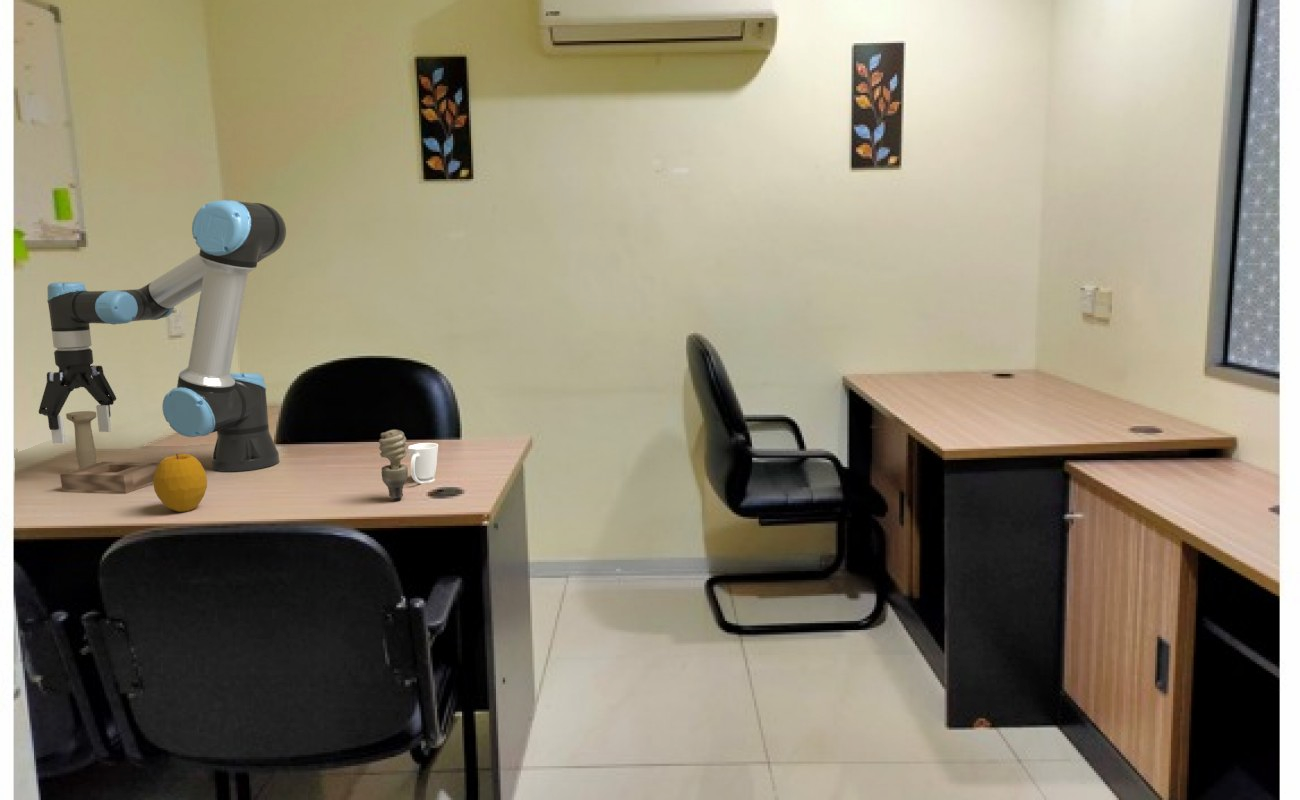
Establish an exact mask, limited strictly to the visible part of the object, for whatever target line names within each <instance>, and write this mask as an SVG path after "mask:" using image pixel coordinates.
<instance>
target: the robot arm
mask: <svg viewBox="0 0 1300 800" xmlns="http://www.w3.org/2000/svg"><path fill="white" fill-rule="evenodd" d="M191 224H192V225H191V233H192V234H191V235H192V237H193V239H195V244H196V246H197V247H198V248H199V252H198V253H196V254H195V255H193V256H192V257H190V258H188V259H187V260H185V261H183V262H182V263H180V264H178V265H177V266H175V267H174V268H172V269H170V270H169V271H167V272H166V273H164V274H162V275H160V276H159V277H157V278H156V279H154V280H153V281H151V282H149V283H147V284H146V285H144V286H142V287H141V288H137V289H135V288H134V289H121V290H120V289H119V290H94V291H93V290H92V291H89V290H87V289H86V285H85V283H84V282H80V281H79V282H77V281H73V282H71V281H70V282H68V281H67V282H51V283H49V284H48V285H47V300H46V301H47V304H48V312H49V320H50V327H51V335H52V343H53V344H52V345H53V348H54V349H55V350H54V352H53V355H54V356H53V357H54V363H55V366H57V367H58V371H54V372H53V371H49V372H47V373H46V384H45V387H44V391H43V394H42V398H41V401H40V404H39V408H38V414H39V415H43V416H45V417H47V421H48V428H49V430H50V431H51V439H52V440H51V441H52V444H66V435H65V427H64V418H63V415H62V414H60V413H61V411H62V410H63V407H64V405H65V403H66V402H67V400H68V398H69V396H70V393H72V391H74V389H80V388H84V389H85V390H86V391H87V392H88V393H89V394H90V395H91V397H92V398H93V399H94V400H95V401H96V402H97V403H98V404H96V405H95V408H96V418H97V425H98V432H101V433H103V432H105V433H110V432H112V427H111V420H110V418H111V406H113V405H114V402H115V401H116V400H117V396H116V394H115V393H114V390H113V389H112V387H111V386H110V383H109V382H108V379H107V378H106V376H105V373H104V369H103V366H102V365H92V364H93V363H94V355H93V349H92V348H90V347H91V346H92V335H91V327H90V326H91V325H90V324H107V325H108V324H110V325H114V326H115V325H122V324H128V323H131V322H137V321H156V320H160V319H164V318H167V317H169V316H170V315H171V314H172V312H173V310H174V309H175V307H177V306H178V305H180V304H182V303H183V302H184V301H186V300H188V299H190V298H191V297H192V296H195V295H196V294H198V293H199V292H200V295H199V301H198V307H197V312H196V318H195V319H196V320H195V323H194V330H193V336H192V341H191V348H190V354H189V359H188V365H187V367H186V368H185V369H183V370H182V371H180V372H179V373H178V379H177V384H176V387H174V388H172V389H171V390H170V391H168V392H167V393H166V394H165V396H164V397H163V401H162V404H161V406H162V413H163V414H162V415H163V416H164V419H165V421H166V422H167V423H168V424H169V426H170V428H171V429H172V430H173V431H175V433H177V434H179V435H181V436H184V437H188V438H197V437H205V436H208V435H210V434H212V433H213V434H214V433H216V434H217V435H216V436H217V437H216V442H215V446H214V450H213V454H212V457H211V466H212V470H214V471H219V472H245V471H252V470H258V469H265V468H268V467H271V466H274V465H277V464H279V462H280V453H279V451H278V449H277V447H276V446H277V445H276V444H275V441H274V440H273V437H272V435H271V433H270V426H269V425H270V424H269V414H268V405H267V404H268V403H267V393H266V392H267V387H266V384H265V378H264V376H263V374H261V373H257V372H256V373H253V372H252V373H251V372H249V373H247V372H244V373H243V372H242V373H240V372H239V373H238V372H237V373H236V372H235V373H234V372H231V369H232V363H233V362H232V361H233V356H234V351H235V345H236V339H237V336H238V330H239V324H240V317H241V312H242V307H243V301H244V297H245V290H246V285H247V279H248V275H249V273H251V272H253V271H254V270H256V269H257V267H258V266H257V265H258V263H259V262H261V261H262V260H264V259H265V258H267V257H269V256H271V255H272V254H275V253H276V252H277V251H278V250H279V249H280V248H282V246H283V244H284V242H285V240H286V237H287V227H286V224H285V221H284V218H283V217H282V215H281V214H280V213H279V212H278V211H277V210H276V209H275V208H273V207H272V206H270V205H267V204H264V203H259V202H249V201H248V202H247V201H240V200H232V199H223V200H214V201H213V200H212V201H209V202H207V203H205V204H204V205H203V206H201V207H200V208H199V209H198V211H197V212H196V213H195V215H194V217H193V221H192V223H191ZM110 405H111V406H110Z"/></svg>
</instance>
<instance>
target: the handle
mask: <svg viewBox="0 0 1300 800" xmlns="http://www.w3.org/2000/svg"><path fill="white" fill-rule="evenodd" d="M65 415H66V417H65V418H66V420H68V421H70V422H72V423H73V427H74V439H75V454H76V459H77V460H76V461H77V465H78V469H79V468H82V467H86V466H89V465H93V464H96V463H97V453H96V452H97V451H96V447H95V441H94V436H93V430H92V421H93V420H95V419H96V418H97V411H92V410H85V411H84V410H83V411H71V412H67V413H65Z"/></svg>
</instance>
